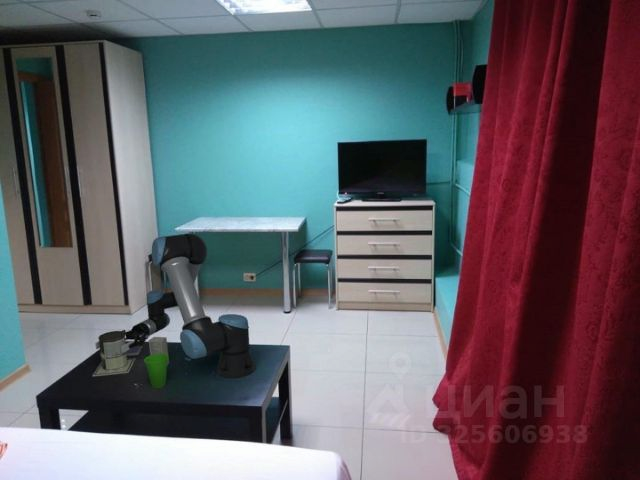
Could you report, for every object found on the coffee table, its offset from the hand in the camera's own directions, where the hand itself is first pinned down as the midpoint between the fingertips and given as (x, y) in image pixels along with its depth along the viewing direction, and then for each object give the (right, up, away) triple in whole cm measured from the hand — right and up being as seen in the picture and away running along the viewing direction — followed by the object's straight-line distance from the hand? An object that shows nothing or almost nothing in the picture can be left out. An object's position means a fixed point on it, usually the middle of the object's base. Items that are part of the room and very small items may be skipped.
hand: (109, 347), depth 193 cm
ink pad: (0, -6, +20) cm, 21 cm away
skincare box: (+20, -9, +4) cm, 22 cm away
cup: (+25, -12, -13) cm, 31 cm away
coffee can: (+1, -9, +3) cm, 10 cm away
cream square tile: (+1, -9, +3) cm, 10 cm away
